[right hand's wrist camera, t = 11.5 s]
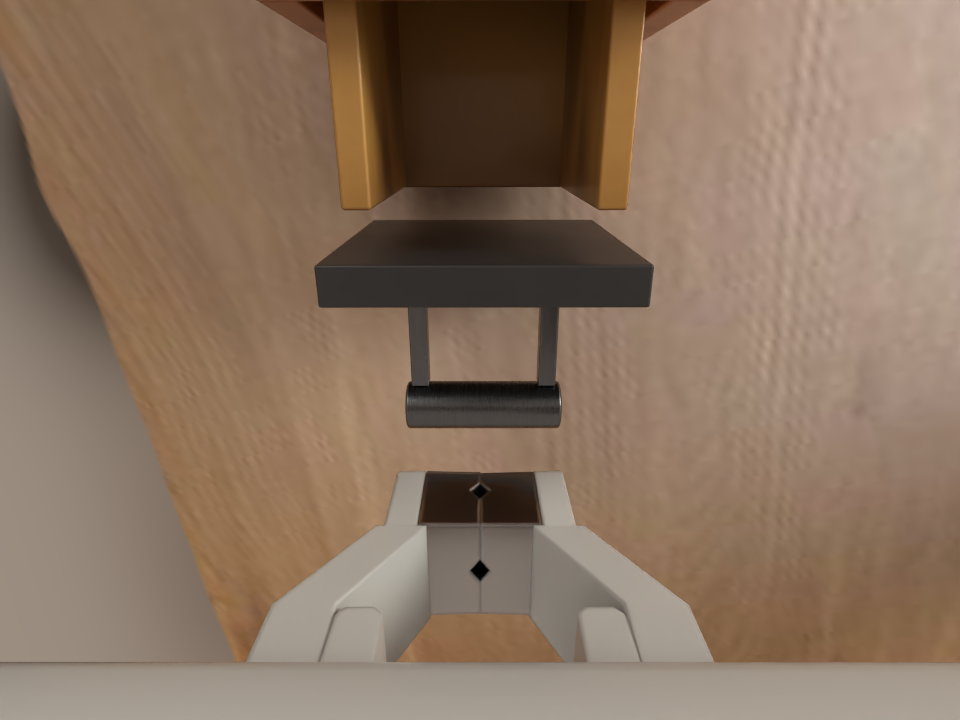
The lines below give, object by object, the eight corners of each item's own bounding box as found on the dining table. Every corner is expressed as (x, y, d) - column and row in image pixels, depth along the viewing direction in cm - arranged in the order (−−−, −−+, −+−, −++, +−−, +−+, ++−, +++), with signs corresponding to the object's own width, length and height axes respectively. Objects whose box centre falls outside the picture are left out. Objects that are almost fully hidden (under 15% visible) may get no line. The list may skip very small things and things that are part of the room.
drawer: (582, 364, 26) (631, 472, 17) (383, 364, 26) (336, 472, 17) (632, -342, 17) (777, -798, 9) (333, -341, 17) (194, -796, 9)
